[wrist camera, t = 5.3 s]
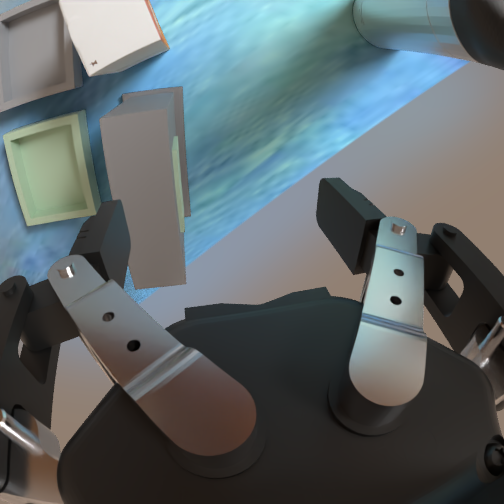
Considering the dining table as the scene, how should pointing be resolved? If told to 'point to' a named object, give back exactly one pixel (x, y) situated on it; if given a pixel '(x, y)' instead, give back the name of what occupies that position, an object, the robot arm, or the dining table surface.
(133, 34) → the small box
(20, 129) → the sage tray
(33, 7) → the grey tray
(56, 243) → the dining table surface
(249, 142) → the dining table surface
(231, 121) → the dining table surface
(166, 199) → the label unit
